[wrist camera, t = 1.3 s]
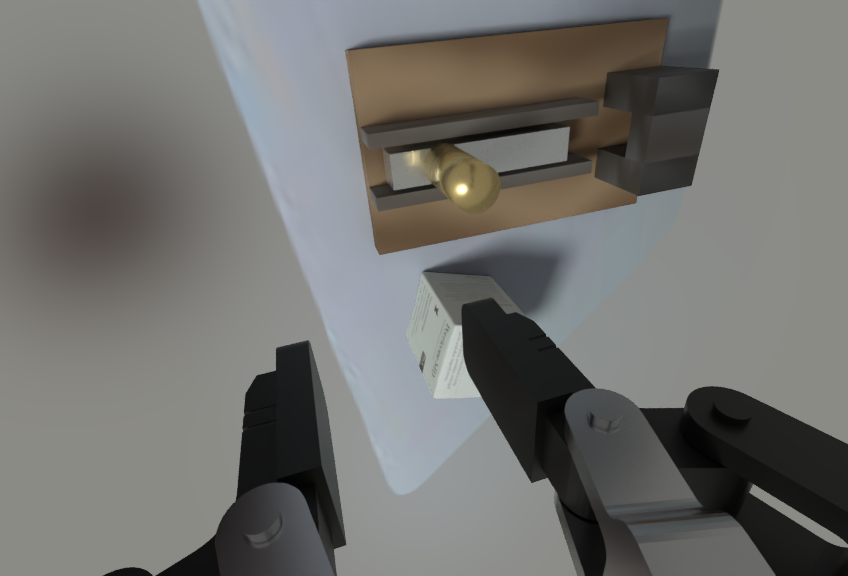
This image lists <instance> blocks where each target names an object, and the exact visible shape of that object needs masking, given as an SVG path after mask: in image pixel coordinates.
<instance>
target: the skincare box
mask: <svg viewBox="0 0 848 576" xmlns="http://www.w3.org/2000/svg"><path fill="white" fill-rule="evenodd" d="M487 298H493V299H494V300H495V301H496V302H497V303H498V304H499V305H500V307H501V308H502V309H503V310H504V311H505V313H506V314H510V313H514V312H517V313H519V314H521V315H523V316H525V317H527V316H526V315H525V314H524V313H523V312H522V311H521V310H520V308H519V307H518V306H517V305H516V304H515V303H514V302H513V301H512V300H511V298H510V297H509V296H508V295H507V294H506V293H505V292H504V291H503V289H502V288H501V287H500V286H499V285H498V284H497V283H496V282H495V280H494V279H493V278H492V277H491V276H479V275H465V274H450V273H436V272H423V273H422V274H421V278H420V284H419V288H418V293H417V297H416V301H415V305H414V309H413V313H412V317H411V320H410V324H409V327H408V330H407V333H406V338H407V340H408V342H409V345H410V347H411V349H412V351H413V353H414V356H415V358H416V360H417V362H418V364H419V367H420V369H421V371H422V373H423V375H424V378H425V380H426V382H427V384H428V386H429V389H430V391H431V393H432V396H433V398H438V399H444V398H467V397H481V395H480V393H479V391H478V390H477V388H476V386H475V385H474V383H473V381H472V379H471V378H470V376H469V374H468V371H467V368H466V365H465V361H464V356H463V340H462V318H461V308H462V305H463V304H466V303H470V302H474V301H479V300H483V299H487ZM527 318H528V317H527Z"/></svg>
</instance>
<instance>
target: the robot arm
mask: <svg viewBox="0 0 848 576" xmlns="http://www.w3.org/2000/svg"><path fill="white" fill-rule="evenodd" d="M461 318H462V340H463V356H464V361H465V365H466V368H467V371H468V374H469V376H470V378H471V379H472V381H473V383H474V385H475V386H476V388H477V390H478V391H479V393H480V395H481V397H482V398H483V400H484V402H485V404H486V405H487V407H488V409H489V410H490V412H491V414H492V416H493V417H494V419H495V421H496V422H497V424H498V426H499V428H500V429H501V431H502V433H503V435H504V436H505V438H506V440H507V441H508V443H509V445H510V447H511V448H512V450H513V452H514V454H515V455H516V457H517V459H518V460H519V462H520V464H521V466H522V467H523V469H524V471H525V472H526V474H527V476H528V478H529V479H530V481H531V482H532V483H533V482H536V481H539V480H542V479H545V478H548V479H549V481H550V482H551V484H552V486H553V487H554V489H555V494H554V504H555V508H556V512H557V515H558V517H559V521H560V524H561V527H562V530H563V533H564V536H565V539H566V542H567V545H568V549H569V552H570V555H571V557H572V561H573V564H574V567H575V570H576V573H577V576H848V548H845V547H839V546H836V545H833V544H831V543H829V542H827V541H825V540H823V539H822V538H820V537H818V536H817V535H815V534H813V533H812V532H810V531H809V530H807V529H806V528H804V527H802V526H801V525H799V524H798V523H796V522H795V521H793V520H791V519H790V518H788V517H787V516H785V515H783V514H782V513H780V512H779V511H777V510H776V509H774V508H772V507H771V506H769V505H768V504H766V503H764V502H763V501H761V500H760V499H758V498H756V497H755V496H753V495H752V494H750V493H749V491H750V489H751V487H752V485H753V484H754V485H756V486H758V487H759V488H761V489H762V490H764V491H766V492H767V493H769V494H771V495H772V496H774V497H776V498H777V499H779V500H780V501H782V502H784V503H785V504H787V505H789V506H790V507H792V508H794V509H795V510H797V511H798V512H800V513H802V514H803V515H805V516H807V517H808V518H810V519H811V520H813V521H815V522H817V523H818V524H820V525H821V526H823V527H825V528H826V529H828V530H830V531H831V532H833V533H834V534H836V535H837V536H839V537H840V538H841V539H843V540H844V541H845V542H846V543H847V544H848V444H846V443H844V442H842V441H840V440H838V439H836V438H834V437H832V436H830V435H828V434H826V433H824V432H822V431H819V430H818V429H816V428H814V427H812V426H810V425H807V424H805V423H803V422H801V421H799V420H797V419H795V418H793V417H791V416H789V415H787V414H785V413H783V412H781V411H779V410H777V409H775V408H773V407H771V406H769V405H767V404H764V403H762V402H760V401H758V400H756V399H754V398H752V397H750V396H748V395H746V394H744V393H741V392H738V391H736V390H733V389H728V388H724V387H713V386H711V387H702V388H698V389H696V390H694V391H693V392H691V393H690V394H689V396H688V398H687V401H686V404H685V407H684V408H638V407H637V406H636V405H635V404H634V403H633V402H632V401H631V400H629V399H628V398H626V397H625V396H623V395H621V394H618V393H616V392H613V391H610V390H605V389H597V388H595V387H594V386H593V385H592V384H591V382H590V381H588V379H587V378H586V377H585V376H584V375H583V374H582V373H581V372H580V371H579V370H578V368H577V367H575V365H574V364H573V363H572V362H571V361H570V360H569V359H568V358H567V357H566V356H565V354H564V353H563V352H562V351H561V350H560V349H559V348H556V345H555V343H554V342H553V341H552V340H551V339H550V338H549V337H546V334H545V333H544V332H543V330H542V329H541V328H540V327H539V326H538V325H537V324H536V323H535V322H534V321H533V320H531V319H529V318H527V317H525V316H523V315H521V314H519V313H517V312H514V313H510V314H506V313H505V311H504V310H503V309H502V308H501V307H500V305H499V304H498V303H497V302H496V301H495V300H494V299H493V298H487V299H483V300H479V301H474V302H470V303H466V304H463V305H462V308H461ZM244 414H245V416H244V419H243V433H242V442H241V453H240V465H239V476H238V488H237V497H236V501H235V502H234V503H233V504H232V505H231V507H230V508H229V509H228V510H227V512H226V513H225V515H224V516H223V517H222V520H221V521H220V524H219V526H218V529H217V532H216V534H215V535H214V537H213V538H211V539H210V540H209V541H208V542H207V543H206V544H204V545H203V546H202V547H200V548H199V549H198V550H196V551H195V552H193V553H192V554H190V555H188V556H187V557H185V558H183V559H182V560H180V561H179V562H177V563H175V564H174V565H172V566H171V567H169V568H167V569H166V570H164V571H163V572H161V573H159V574H158V575H156V576H337V574H336V565H335V556H334V549H336V548H338V547H341V546H344V545H346V539H345V531H344V524H343V517H342V510H341V503H340V496H339V489H338V482H337V475H336V468H335V460H334V453H333V446H332V439H331V432H330V426H329V418H328V411H327V406H326V401H325V397H324V392H323V388H322V385H321V381H320V377H319V374H318V370H317V366H316V362H315V359H314V355H313V351H312V348H311V344H310V342H309V341H308V340H307V341H303V342H299V343H295V344H291V345H286V346H282V347H278V348H276V371H273V372H269V373H265V374H261V375H257V376H256V378H255V379H254V381H253V383H252V384H251V386H250V388H249V389H248V391H247V392H246V395H245V406H244ZM104 576H152V574H150V573H149V572H148V571H146V570H144V569H141V568H135V567H130V568H123V569H119V570H115V571H113V572H110V573H108V574H105V575H104Z"/></svg>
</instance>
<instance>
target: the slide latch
mask: <svg viewBox="0 0 848 576" xmlns="http://www.w3.org/2000/svg"><path fill="white" fill-rule="evenodd" d="M569 131H570V127H569V126H565V125H562V124H559V123H555V122H552V123H546V124H539V125H532V126H526V127H519V128H512V129H506V130H499V131H492V132H486V133H479V134H473V135H466V136H459V137H453V138H446V139H439V140H433V141H426V142H419V143H413V144H406V145H400V146H393V147H386V148H382V151H383V159H384V167H385V174H386V181H387V182H388V184H389V185H390V186H391V188H392V189H393V190H400V189H405V188H411V187H417V186H423V185H429V184H433V185H434V186H435V187H436V188H438V189H439V190H440V191H441V192H442V193H443V194H444V195H445V196H446V197H447V198H449V199H450V200H451V201H452V202H453V203H454V204H455V205H456V206H457V207H458V208H460V209H461V210H462V211H464V212H466V213H469V214H478V213H482V212H484V211H486V210H487V209H489V208H490V207H491V206H492V205H493V204H494V203H495V201H496V200H497V198H498V196H499V193H500V189H501V182H500V178H499V175H498V172H504V171H510V170H516V169H522V168H527V167H533V166H539V165H545V164H551V163H556V162H562V161H567V154H568V142H569Z"/></svg>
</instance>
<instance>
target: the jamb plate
mask: <svg viewBox="0 0 848 576" xmlns="http://www.w3.org/2000/svg"><path fill="white" fill-rule="evenodd" d="M668 21H669V18H663V19H649V20H639V21H629V22H619V23H609V24H599V25H589V26H579V27H570V28H560V29H550V30H540V31H530V32H520V33H510V34H500V35H491V36H481V37H471V38H461V39H451V40H441V41H431V42H422V43H412V44H402V45H392V46H382V47H372V48H362V49H352V50H345V52H346V58H347V65H348V71H349V78H350V84H351V91H352V97H353V104H354V111H355V117H356V124H357V130H358V137H359V143H360V150H361V156H362V163H363V169H364V176H365V183H366V189H367V196H368V202H369V209H370V215H371V222H372V228H373V235H374V242H375V247H376V249H377V251H378V253H379V255H382V254H387V253H392V252H397V251H402V250H407V249H412V248H417V247H422V246H427V245H432V244H437V243H441V242H446V241H451V240H456V239H461V238H466V237H471V236H476V235H481V234H486V233H491V232H496V231H501V230H506V229H511V228H516V227H521V226H526V225H530V224H535V223H540V222H545V221H550V220H555V219H560V218H565V217H570V216H575V215H580V214H585V213H590V212H595V211H600V210H605V209H610V208H615V207H619V206H624V205H629V204H634V203H636V201H637V196H641V195H646V194H651V193H656V192H661V191H666V190H671V189H676V188H681V187H686V186H691V185H692V181H693V176H694V172H695V168H696V164H697V160H698V156H699V152H700V148H701V144H702V139H703V135H704V131H705V127H706V123H707V118H708V114H709V110H710V106H711V102H712V98H713V94H714V89H715V86H716V81H717V77H718V73H719V70H717V69H716V70H715V69H701V68H685V67H669V66H661V60H662V54H663V49H664V43H665V37H666V32H667V26H668ZM552 122H555V123H559V124H562V125H565V126H569V127H570V131H569V142H568V154H567V161H562V162H556V163H551V164H545V165H539V166H533V167H527V168H522V169H516V170H510V171H504V172H498V175H499V178H500V182H501V189H500V193H499V196H498V198H497V200H496V201H495V203H494V204H493V205H492V206H491V207H490V208H489V209H487V210H486V211H484V212H482V213H478V214H469V213H466V212H464V211H462V210H461V209H460V208H458V207H457V206H456V205H455V204H454V203H453V202H452V201H451V200H450V199H449V198H447V197H446V196H445V195H444V194H443V193H442V192H441V191H440V190H439V189H438V188H436V187H435V186H434V185H433V184H429V185H423V186H417V187H411V188H405V189H400V190H393V189H392V188H391V186H390V185H389V184H388V182H387V181H386V174H385V167H384V159H383V151H382V148H386V147H393V146H400V145H406V144H413V143H419V142H426V141H433V140H439V139H446V138H453V137H459V136H466V135H473V134H479V133H486V132H492V131H499V130H506V129H512V128H519V127H526V126H532V125H539V124H546V123H552Z"/></svg>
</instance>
